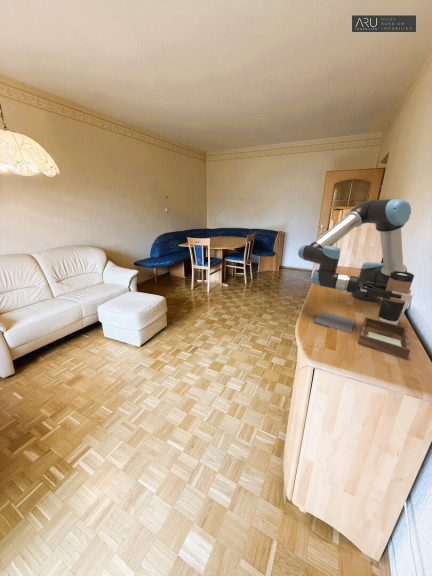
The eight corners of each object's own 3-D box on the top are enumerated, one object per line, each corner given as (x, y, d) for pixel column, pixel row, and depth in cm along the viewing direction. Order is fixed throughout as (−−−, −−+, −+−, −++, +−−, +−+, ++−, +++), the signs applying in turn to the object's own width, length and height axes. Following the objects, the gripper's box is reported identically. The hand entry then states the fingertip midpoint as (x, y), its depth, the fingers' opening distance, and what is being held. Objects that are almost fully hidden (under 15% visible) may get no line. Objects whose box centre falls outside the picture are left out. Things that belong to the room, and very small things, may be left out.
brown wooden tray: (362, 325, 110) (365, 316, 109) (403, 336, 102) (407, 327, 100) (357, 344, 94) (360, 335, 92) (406, 360, 85) (410, 350, 83)
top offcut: (367, 334, 98) (368, 331, 98) (399, 343, 93) (400, 340, 92) (367, 341, 92) (367, 338, 92) (400, 351, 87) (401, 348, 86)
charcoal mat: (321, 312, 123) (321, 310, 122) (354, 321, 114) (355, 320, 114) (313, 322, 110) (313, 321, 110) (350, 334, 102) (350, 332, 101)
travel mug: (402, 322, 94) (419, 276, 87) (382, 320, 96) (397, 275, 89) (393, 314, 101) (407, 271, 95) (374, 312, 103) (387, 270, 96)
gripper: (349, 285, 113) (406, 297, 101) (342, 297, 98) (409, 312, 85) (352, 271, 111) (412, 281, 98) (346, 280, 95) (416, 293, 83)
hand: (411, 295), depth 92 cm, fingers closed on travel mug, 7 cm apart
